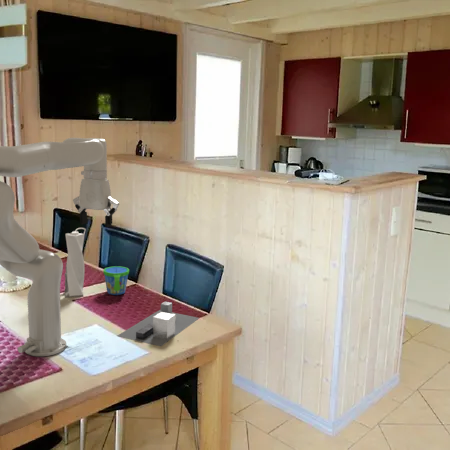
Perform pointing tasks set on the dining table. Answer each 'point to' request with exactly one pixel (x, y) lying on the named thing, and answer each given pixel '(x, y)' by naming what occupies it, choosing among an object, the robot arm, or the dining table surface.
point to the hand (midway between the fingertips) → (96, 225)
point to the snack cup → (116, 279)
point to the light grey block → (164, 325)
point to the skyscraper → (74, 264)
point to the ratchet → (148, 328)
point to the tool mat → (130, 333)
